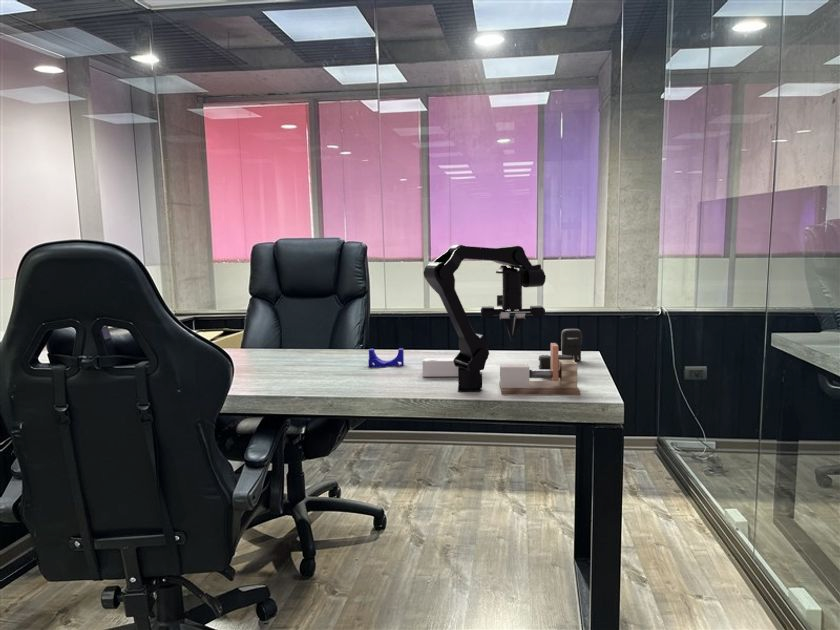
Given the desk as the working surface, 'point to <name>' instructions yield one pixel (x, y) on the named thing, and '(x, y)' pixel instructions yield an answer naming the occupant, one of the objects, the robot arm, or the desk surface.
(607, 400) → the desk surface
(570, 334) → the battery charger
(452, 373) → the white box
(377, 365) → the cable clip
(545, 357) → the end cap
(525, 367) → the white rectangular block
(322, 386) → the desk surface
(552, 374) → the brushed copper slab
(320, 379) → the desk surface
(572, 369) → the socket block
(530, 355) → the desk surface
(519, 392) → the base board
